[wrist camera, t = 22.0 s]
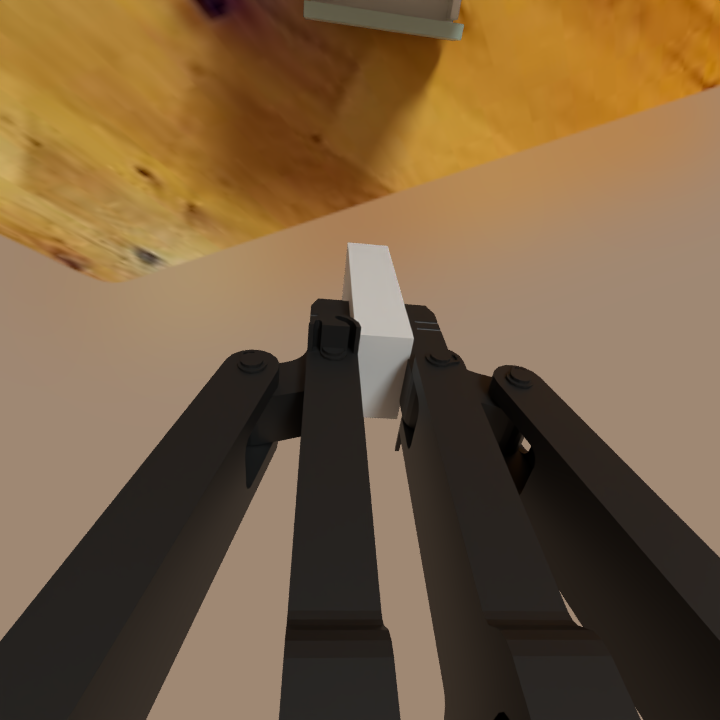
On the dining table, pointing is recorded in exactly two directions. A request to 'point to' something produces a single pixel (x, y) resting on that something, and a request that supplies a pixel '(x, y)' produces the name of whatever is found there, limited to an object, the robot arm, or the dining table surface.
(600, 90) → the dining table surface
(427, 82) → the dining table surface
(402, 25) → the tray
